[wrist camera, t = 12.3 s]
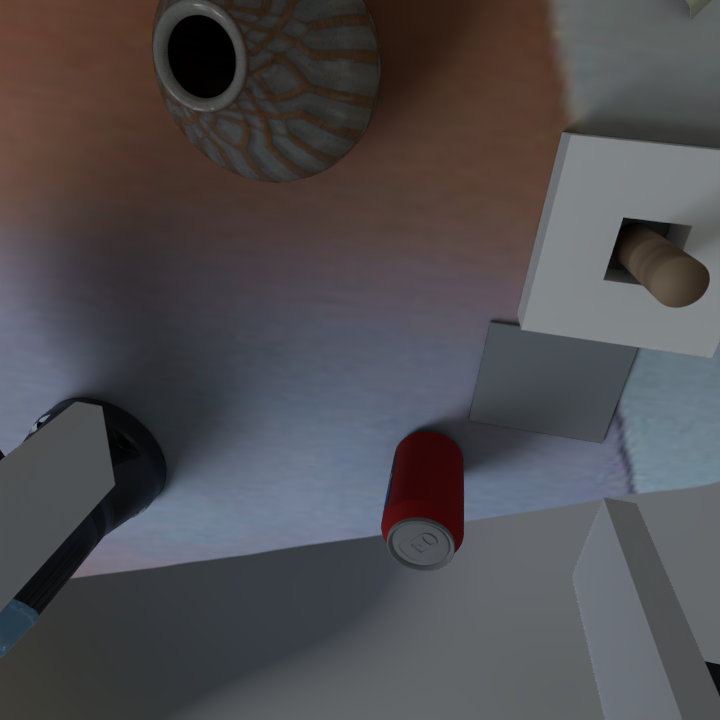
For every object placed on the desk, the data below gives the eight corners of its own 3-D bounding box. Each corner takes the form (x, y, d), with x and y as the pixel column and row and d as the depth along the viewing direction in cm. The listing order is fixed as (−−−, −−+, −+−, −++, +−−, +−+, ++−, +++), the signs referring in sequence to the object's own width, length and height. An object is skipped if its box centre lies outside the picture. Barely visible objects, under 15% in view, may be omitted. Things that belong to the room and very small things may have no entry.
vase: (297, 202, 42) (204, 261, 27) (186, 59, 39) (6, 32, 24) (429, 90, 37) (407, 84, 22) (314, -87, 34) (190, -242, 18)
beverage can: (381, 452, 52) (360, 542, 42) (428, 414, 49) (419, 499, 39) (429, 492, 53) (421, 589, 43) (478, 457, 50) (482, 552, 40)
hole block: (517, 313, 43) (521, 329, 40) (562, 131, 37) (571, 134, 34) (693, 339, 42) (711, 358, 39) (772, 153, 35) (802, 159, 32)
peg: (605, 259, 40) (646, 304, 31) (617, 220, 39) (662, 256, 30) (646, 264, 40) (698, 310, 31) (659, 225, 38) (718, 262, 30)
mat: (468, 418, 49) (468, 420, 48) (490, 320, 44) (490, 322, 44) (600, 440, 47) (601, 443, 47) (637, 342, 43) (639, 344, 42)
